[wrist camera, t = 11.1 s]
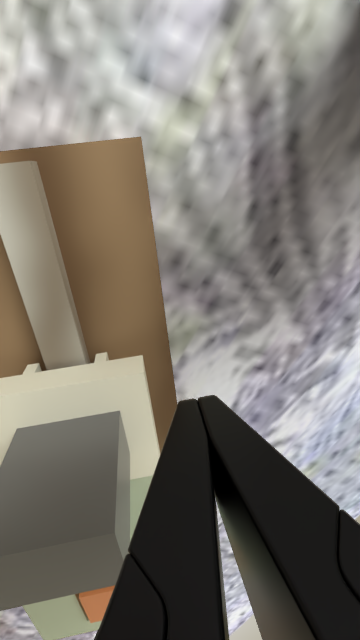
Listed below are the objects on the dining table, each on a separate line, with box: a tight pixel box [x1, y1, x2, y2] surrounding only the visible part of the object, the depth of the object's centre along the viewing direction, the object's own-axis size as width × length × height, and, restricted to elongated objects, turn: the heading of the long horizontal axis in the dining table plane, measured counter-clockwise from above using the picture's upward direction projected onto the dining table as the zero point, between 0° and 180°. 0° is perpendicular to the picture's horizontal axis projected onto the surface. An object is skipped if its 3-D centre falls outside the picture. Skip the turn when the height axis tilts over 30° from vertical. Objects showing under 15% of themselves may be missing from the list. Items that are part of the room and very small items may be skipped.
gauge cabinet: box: [23, 475, 153, 640], centre depth 21 cm, size 9×6×6 cm, turn 97°
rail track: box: [0, 137, 177, 454], centre depth 19 cm, size 11×26×2 cm, turn 7°
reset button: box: [79, 585, 115, 623], centre depth 20 cm, size 3×3×4 cm
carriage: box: [0, 352, 160, 611], centre depth 15 cm, size 8×7×8 cm
